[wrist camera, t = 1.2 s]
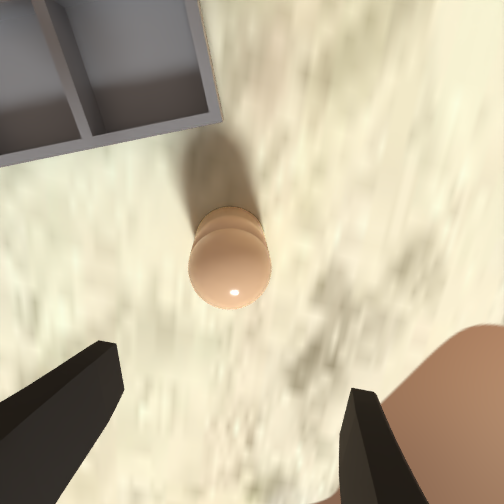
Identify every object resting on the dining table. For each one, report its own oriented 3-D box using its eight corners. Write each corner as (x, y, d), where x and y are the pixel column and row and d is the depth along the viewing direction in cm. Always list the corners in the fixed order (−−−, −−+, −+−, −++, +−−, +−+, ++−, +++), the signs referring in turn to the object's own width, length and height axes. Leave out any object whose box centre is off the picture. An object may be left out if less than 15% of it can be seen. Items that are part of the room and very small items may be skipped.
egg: (205, 276, 22) (196, 333, 16) (188, 214, 20) (171, 254, 15) (269, 263, 22) (282, 317, 16) (257, 200, 20) (267, 235, 15)
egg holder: (-103, 186, 19) (-160, 200, 16) (-182, 54, 16) (-266, 43, 13) (223, 119, 18) (222, 121, 16) (193, -27, 16) (185, -54, 13)
